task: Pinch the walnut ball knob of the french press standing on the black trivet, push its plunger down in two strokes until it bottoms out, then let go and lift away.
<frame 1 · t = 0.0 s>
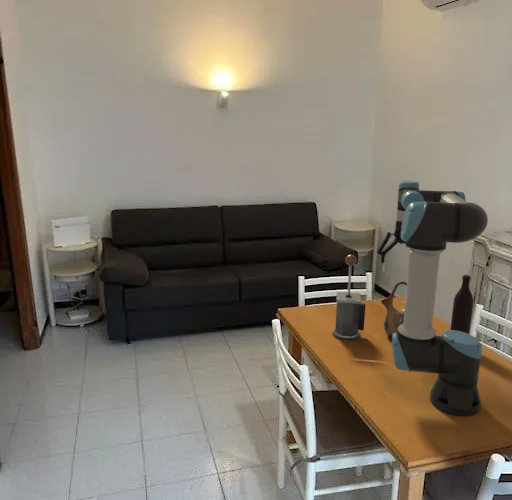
hand: (401, 271, 200), 28 cm above the table, fingers open, 13 cm apart
french press: (346, 334, 206), resting on trivet
plunger: (349, 283, 200), point 23 cm above the table, slide at 0.0 cm
ceramic vessel: (397, 338, 205), on the table
trivet: (346, 336, 206), on the table
wine bottle: (457, 347, 197), on the table
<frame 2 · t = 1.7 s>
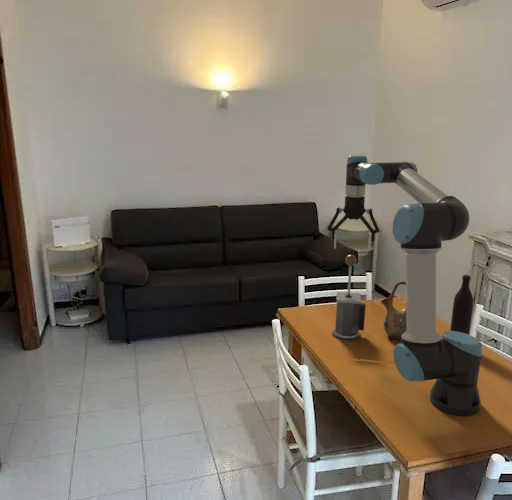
hand: (352, 248, 197), 38 cm above the table, fingers open, 13 cm apart
nothing on the table moved.
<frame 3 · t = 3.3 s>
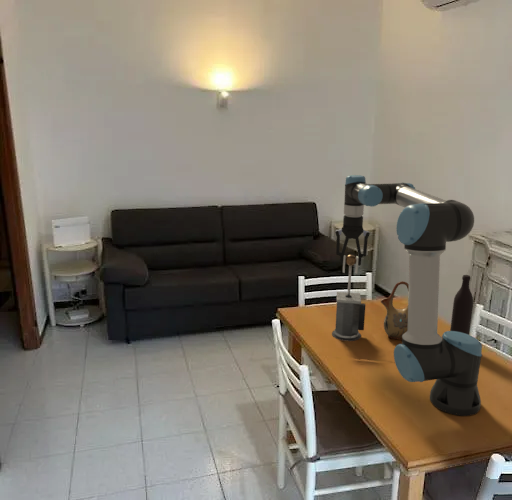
hand: (350, 272, 199), 28 cm above the table, fingers closed on plunger, 4 cm apart
plunger: (349, 283, 200), point 23 cm above the table, slide at 0.0 cm, touching gripper
everything else where it was.
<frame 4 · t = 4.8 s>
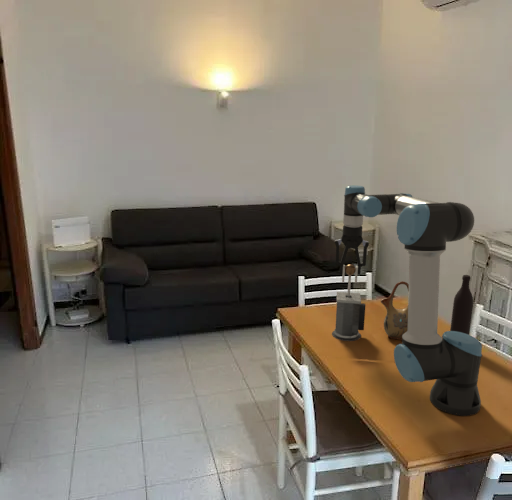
hand: (349, 281, 200), 24 cm above the table, fingers closed on plunger, 4 cm apart
plunger: (348, 292, 201), point 19 cm above the table, slide at 4.0 cm, touching gripper
everything else where it was.
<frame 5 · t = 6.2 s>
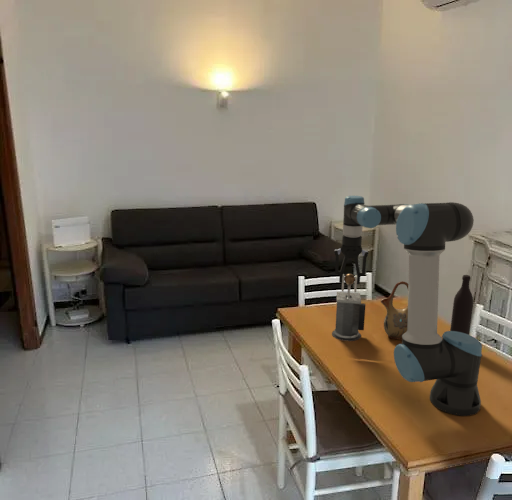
hand: (348, 290, 201), 20 cm above the table, fingers closed on plunger, 4 cm apart
plunger: (348, 301, 202), point 15 cm above the table, slide at 8.0 cm, touching gripper
everything else where it was.
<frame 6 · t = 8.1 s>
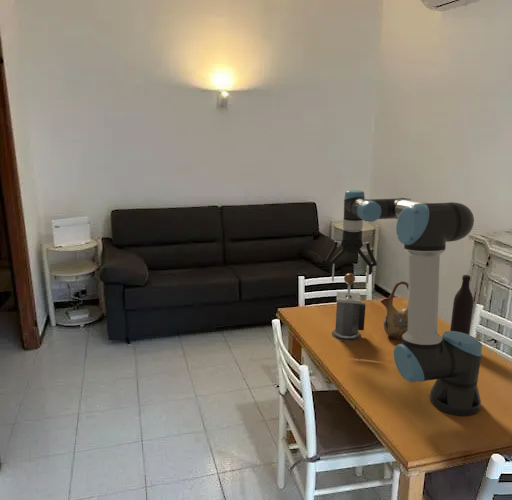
hand: (349, 281, 199), 24 cm above the table, fingers open, 13 cm apart
plunger: (348, 301, 202), point 16 cm above the table, slide at 7.8 cm
everything else where it was.
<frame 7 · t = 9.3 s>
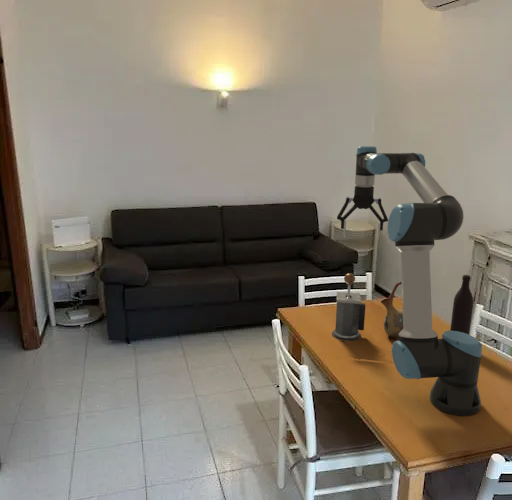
hand: (361, 237, 202), 41 cm above the table, fingers open, 13 cm apart
nothing on the table moved.
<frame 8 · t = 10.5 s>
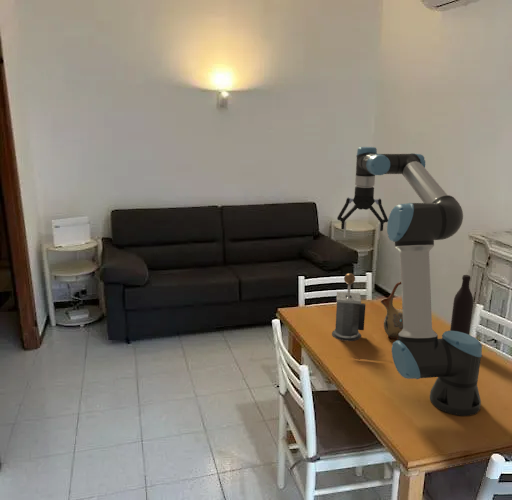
hand: (361, 237, 202), 41 cm above the table, fingers open, 13 cm apart
nothing on the table moved.
at the end: plunger slide at 7.8 cm; the gripper is holding nothing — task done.
